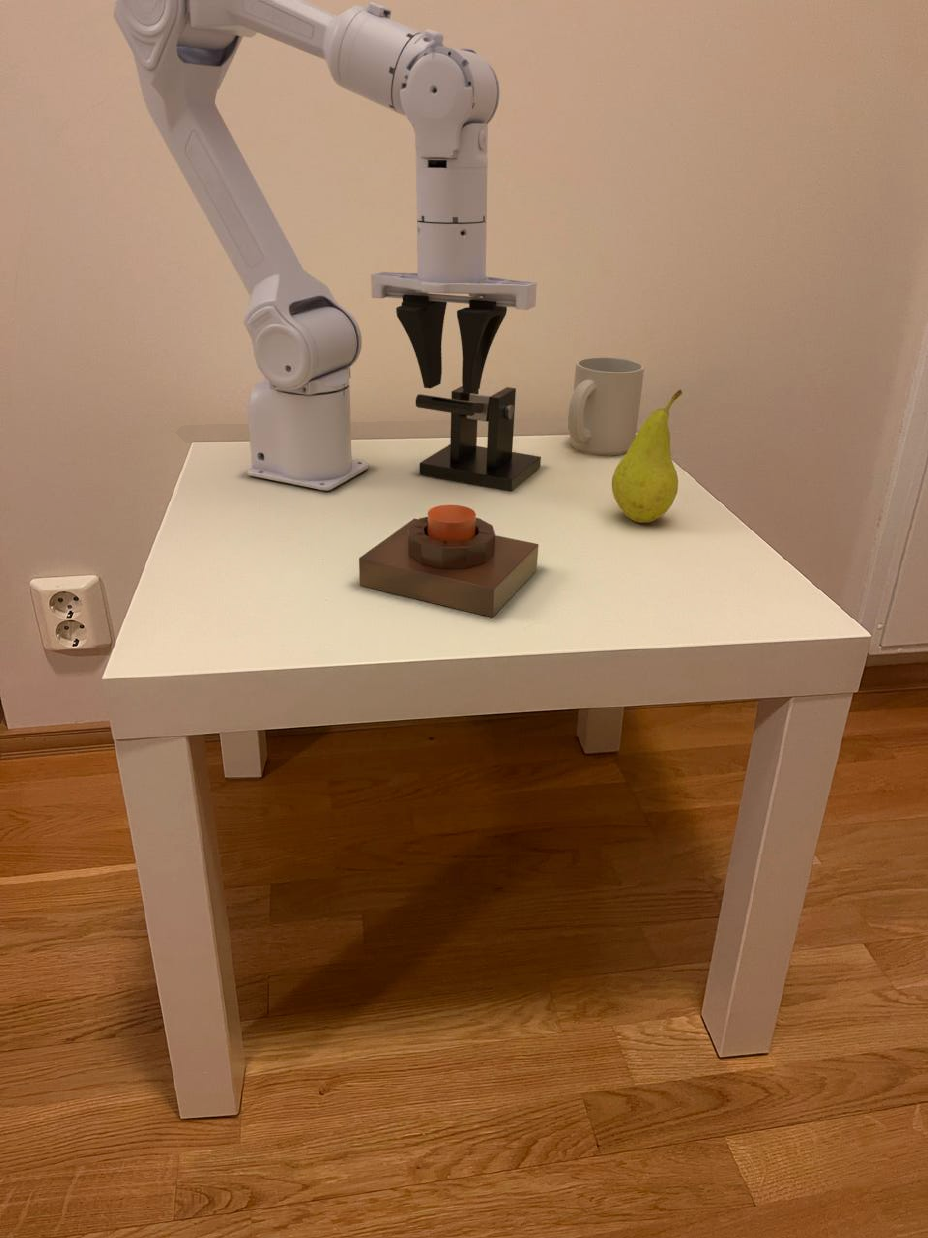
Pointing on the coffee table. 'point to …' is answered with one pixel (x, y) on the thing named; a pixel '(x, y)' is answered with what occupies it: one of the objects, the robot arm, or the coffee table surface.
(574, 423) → the cup
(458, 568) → the button block
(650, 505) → the fruit
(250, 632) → the coffee table surface
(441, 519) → the button
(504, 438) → the switch bracket
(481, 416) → the switch lever
